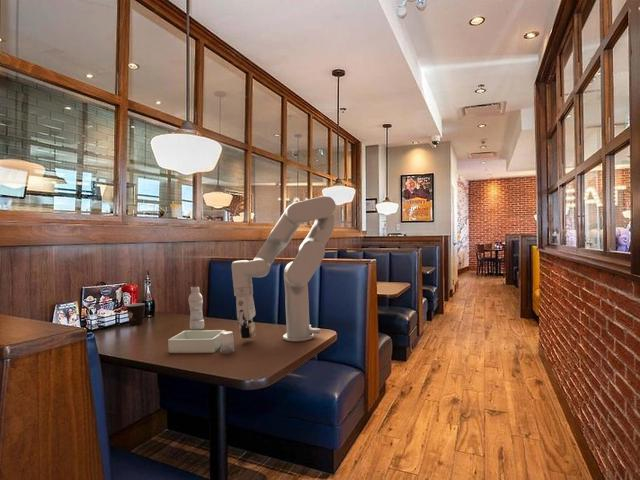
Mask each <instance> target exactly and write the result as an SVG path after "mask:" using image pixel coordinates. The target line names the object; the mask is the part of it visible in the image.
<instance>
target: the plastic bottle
mask: <svg viewBox="0 0 640 480" xmlns="http://www.w3.org/2000/svg"><path fill="white" fill-rule="evenodd" d="M190 292H191V293H190V294H189V296H188V299H187V301H188V305H189V311H190V312H189V313H190V314H189V316H190V317H189V325H188V326H189V329H190V331H193V330H203V329H204V328H205V319H204V315H203V304H204V303H203V302H204V297H203V295H202V294H201V292H200V286H191V287H190Z"/></svg>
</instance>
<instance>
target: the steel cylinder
mask: <svg viewBox="0 0 640 480" xmlns="http://www.w3.org/2000/svg"><path fill="white" fill-rule="evenodd" d="M234 340H235V339H234V331H231V330H229V331H227V330H226V332H221V333H220V348H219V349H220V350H219V351H220V352H219V353H220V354H223V355H225V354H226V355H227V354H232V353H234V352H235V341H234Z"/></svg>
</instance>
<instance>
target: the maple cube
mask: <svg viewBox="0 0 640 480" xmlns="http://www.w3.org/2000/svg"><path fill="white" fill-rule="evenodd" d="M245 324H246V322H245ZM248 328H249V334H250V337H249V338H248V339H253V338H254V337H255V336H256V335H257V334H256V324H255V322H253V323H248ZM238 331H239V339H240V340H242V339H243V340H245V339H246V338H242V337H241V328H240V325H238Z"/></svg>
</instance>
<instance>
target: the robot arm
mask: <svg viewBox="0 0 640 480" xmlns="http://www.w3.org/2000/svg"><path fill="white" fill-rule="evenodd" d="M336 207H337V205H336V202H335V200H334V199H333V198H332V197H331V196H328V195H320V196H317V197H313V198H308V199H304V200H301V201H300V200H299V201H295V202H292V203H291V204H289V205H288V206H287V207H286V209H285V210H284V212H283V213H282V215H280V218H279V219H278V221H277V222H276V223H275V225H274V227H273V228H272V230H271V231H270V233H269V235H268V236H267V238H266V240H265V242H264V243H263V245H262V246H261V248H260V249H259V251H258V252H257V254H256V256H255V257H254V258H253V260H252V259H251V260H247V259H244V260H243V259H242V260H235V261H232V263H231V273H232V274H231V275H232V286H233V294H234V297H235V299H236V300H235V303H236V317H237V318H236V319H237V321H238V323H239V326H240V328H241V337H242V338H245V339H250V338H249V337H250V334H249V328H248V323H254V320H253V318H254V317H255V316H256V308H255V300H254V296H253V295H254V287H253V279H252V278H263V277H266V276H267V275H268V274H269V273H270V270H271V266H272V264H273V263H274V261H275V260H276V258H277V257H278V255H279V254H280V253H281V251H283V250H284V249H285V248H286V247H287V246H288V245H289V243H290V242H291V240H292V239H293V238H294V235H295V234H296V233H297V230H298V229H299V228H300V226H301V225H302V223H307V222H311V221H314V222H313V225H312V226H311V228H310V230H309V232H308V234H307V235H306V237H305V238H304V239H303V241H302V242H301V244H300V245H299V248H298V253H297V254H296V256H295V258H294V259H293V261H290V262H288V263H287V264H286V266H285V267H284V269H283V282H284V297H285V321H286V326H285V327H286V333H284V334H283V335H282V339H283V340H285V341H287V342H305V341H309V340H312V339H313V338H314V334H317V335H319V334H321V328H318V327H314V328H313V327H312V324H310V306H309V305H310V303H309V301H310V300H309V285H308V284H309V282H310V280H311V279H312V277H313V275H314V274H315V272H316V271H317V270H318V268H319V266H320V265H321V263H322V262H323V259H324V257H325V254H326V249H325V246H326V244H327V243H328V241H329V239H330V238H331V236H332V234H333V232H334V229H335V225H336V224H335V222H336V221H335V219H336V218H335V215H334V213H335V211H336ZM245 323H246V324H245Z"/></svg>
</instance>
